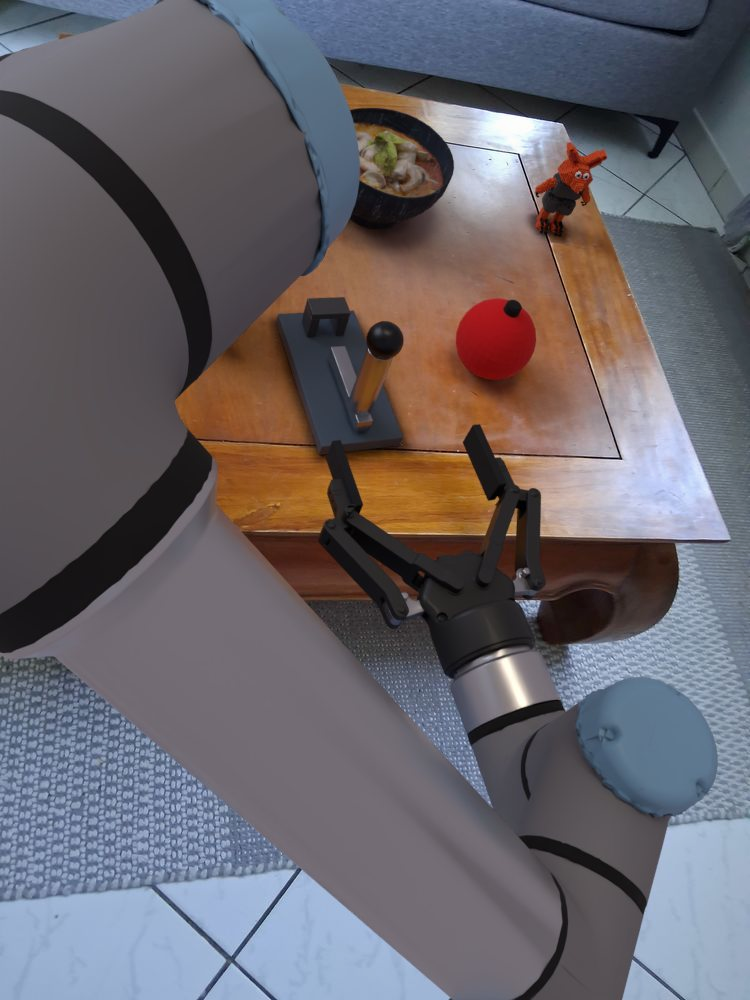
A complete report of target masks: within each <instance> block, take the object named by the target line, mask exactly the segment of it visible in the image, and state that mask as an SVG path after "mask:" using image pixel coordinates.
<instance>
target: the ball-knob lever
mask: <svg viewBox="0 0 750 1000" xmlns="http://www.w3.org/2000/svg"><path fill="white" fill-rule="evenodd" d="M365 340H366V344H367V349H366V352H365V355H364V358H363V360H362V363H361V366H360V369H359V372H358V374H357V377H356V374H355V372H354V369H353V366H352V364H351V361H350V358H349V356H348V353H347V350H346V348H345V346H337V347H331V349H330V352H329V355H328V358H329V361H330V364H331V367H332V369H333V372H334V375H335V378H336V381H337V383H338V386H339V389H340V392H341V395H342V397H343V400H344V403H345V406H346V409H347V411H348V414H349V417H350V420H351V423H352V425H353V428H354V431H355V432H357V431H367V430H369V429H370V427H371V424H372V422H373V420H372V417H371V415H370V413H371V411H372V409H373V407H374V404H375V402H376V399H377V397H378V394H379V392H380V389H381V387H382V385H383V386H384V382H385V379H386V377H387V374H388V372H389V370H390V367H391V364H392V362H393V360H394V357H397V355H399V354H400V352H401V351H402V349H403V346H404V333H403V332H402V329H401V328H400V327H399V326H398V325H397V324H395V323H394V322H392V321H388V320H382V321H378V322H376V323H374V324H372V326H370V327H369V329H368V331H367V333H366V338H365Z"/></svg>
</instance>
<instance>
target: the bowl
mask: <svg viewBox="0 0 750 1000" xmlns="http://www.w3.org/2000/svg"><path fill="white" fill-rule="evenodd" d="M350 112H351V115H352V118H353V122H354V126H355V130H356V136H357V141H358V149H359V159H360V178H359V187H358V194H357V199H356V203H355V206H354V208H353V211H352V214H351V217H350V219H349V220H351V221H353V222H354V223H356V224H358V225H360V226H362V227H365V228H369V229H374V230H387V229H390V228H393V227H394V226H396V225H397V224H399V223H400V222H404V221H408V220H411V219H413V218H415V217H417V216H419V215H421V214H423V213H425V212H426V211H428V210H429V209H431V208H432V207H433V206H434V205H435V204H436V203H437V202H438V201H439V200H440V199H441V198H442V197H443V195H444V194H445V193H446V190H447V189H448V186H449V185H450V182H451V180H452V178H453V175H454V172H455V171H454V170H455V161H454V156H453V153H452V150H451V148H450V146H448V145H449V144H448V143H447V142H446V141H445V140H444V139H443V137H441V135H440V134H439V133H438V132H437V131H436V130H435V129H433V127H432V126H430V125H429V124H427V123H425V122H424V121H422V120H420V119H419V118H417V117H415V116H413V115H410V114H408V113H406V112H402V111H398V110H394V109H390V108H382V107H358V108H353V109H352V108H351V109H350Z"/></svg>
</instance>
